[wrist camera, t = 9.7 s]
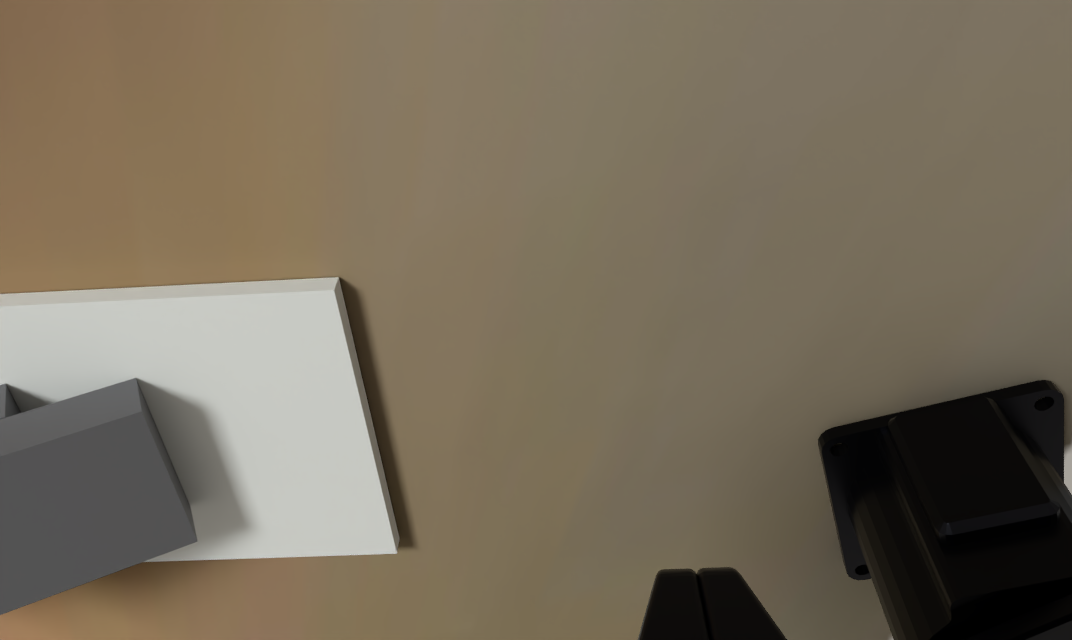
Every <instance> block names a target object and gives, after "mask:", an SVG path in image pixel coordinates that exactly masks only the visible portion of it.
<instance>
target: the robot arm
mask: <svg viewBox="0 0 1072 640" xmlns="http://www.w3.org/2000/svg"><path fill="white" fill-rule="evenodd" d="M1042 397H1044V398H1043V399H1042V400H1039V401H1037V400H1038V399H1040V398H1042ZM837 443H842V444H841V445H839V446H833V445H835V444H837ZM818 446H819V450H820V455H821V460H822V464H823V469H824V474H825V478H826V483H827V488H828V492H829V497H830V502H831V506H832V511H833V515H834V520H835V525H836V529H837V534H838V539H839V543H840V548H841V553H842V557H843V562H844V565H845V568H846V571H847V574H848V575H849V577H851V578H852V579H856V580H866V579H871V578H872V581H873V583H874V586H875V589H876V592H877V594H878V597H879V600H880V603H881V605H882V608H883V611H884V614H885V616H886V619H887V622H888V625H889V627H890V630H891V633H892V636H893V638H894V640H1072V495H1071V493H1070V492H1069V490H1068V489H1067V487H1066V486H1065V484H1064V399H1063V395H1062V394H1061V392H1060V391H1059V389H1058V388H1057V387H1056V385H1055V384H1053V383H1052V382H1050V381H1046V380H1042V381H1035V382H1030V383H1026V384H1022V385H1017V386H1013V387H1008V388H1004V389H1000V390H995V391H991V392H987V393H982V394H978V395H974V396H969V397H965V398H960V399H956V400H952V401H947V402H943V403H939V404H934V405H930V406H926V407H921V408H917V409H912V410H908V411H904V412H899V413H895V414H891V415H886V416H882V417H878V418H873V419H869V420H864V421H860V422H856V423H851V424H847V425H843V426H838V427H834V428H831V429H828V430H826V431H825V432H824V433H822V434H821V436H820V437H819V439H818ZM638 640H787V639H786V638H785V636H784V635H783V633H782V632H781V631H780V629H779V628H778V626H777V625H776V624H775V622H774V621H773V619H772V618H771V617H770V615H769V614H768V612H767V611H766V610H765V608H764V607H763V605H762V604H761V603H760V601H759V600H758V598H757V597H756V596H755V594H754V593H753V591H752V590H751V589H750V587H749V586H748V584H747V583H746V582H745V580H744V579H743V577H742V576H741V575H740V573H739V572H738V571H737V570H735V569H733V568H730V567H720V568H702V569H700V570H698V572H697V574H696V573H695V571H693V570H692V569H663V570H660V571H659V572H658V573H657V575H656V578H655V581H654V584H653V588H652V592H651V595H650V599H649V602H648V606H647V609H646V613H645V616H644V620H643V623H642V627H641V631H640V634H639V638H638Z"/></svg>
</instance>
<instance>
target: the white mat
mask: <svg viewBox="0 0 1072 640" xmlns="http://www.w3.org/2000/svg"><path fill="white" fill-rule="evenodd" d="M133 378H136V379H137V381H138V383H139V386H140V388H141V391H142V393H143V395H144V398H145V400H146V402H147V405H148V407H149V409H150V412H151V414H152V417H153V419H154V421H155V424H156V426H157V428H158V431H159V433H160V435H161V438H162V440H163V443H164V445H165V447H166V450H167V452H168V454H169V457H170V459H171V461H172V464H173V466H174V469H175V471H176V473H177V476H178V478H179V480H180V483H181V485H182V487H183V490H184V492H185V495H186V497H187V499H188V502H189V504H190V507H191V512H192V517H193V522H194V526H195V531H196V536H197V541H198V542H195V543H192V544H190V545H187V546H184V547H182V548H179V549H176V550H174V551H171V552H168V553H165V554H163V555H160V556H157V557H155V558H152V559H149V560H147V561H144V562H159V561H189V560H218V559H248V558H278V557H308V556H338V555H367V554H397V550H398V545H399V539H400V538H399V534H398V530H397V525H396V521H395V517H394V513H393V508H392V504H391V500H390V495H389V491H388V487H387V482H386V478H385V474H384V470H383V465H382V461H381V457H380V452H379V448H378V444H377V439H376V435H375V431H374V427H373V422H372V418H371V414H370V409H369V405H368V401H367V397H366V392H365V388H364V384H363V379H362V375H361V371H360V366H359V362H358V358H357V354H356V349H355V345H354V341H353V336H352V332H351V328H350V323H349V319H348V315H347V311H346V306H345V302H344V298H343V293H342V289H341V285H340V281H339V277H334V278H314V279H294V280H274V281H254V282H234V283H214V284H194V285H174V286H154V287H134V288H114V289H94V290H74V291H54V292H34V293H14V294H0V385H2V384H6V385H7V386H8V388H9V390H10V392H11V394H12V396H13V398H14V400H15V401H16V403H17V405H18V407H19V409H20V411H21V413H23V412H26V411H29V410H33V409H36V408H39V407H42V406H46V405H49V404H52V403H55V402H59V401H62V400H65V399H68V398H72V397H75V396H78V395H81V394H85V393H88V392H91V391H94V390H98V389H101V388H104V387H107V386H111V385H114V384H117V383H120V382H124V381H127V380H130V379H133Z"/></svg>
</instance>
